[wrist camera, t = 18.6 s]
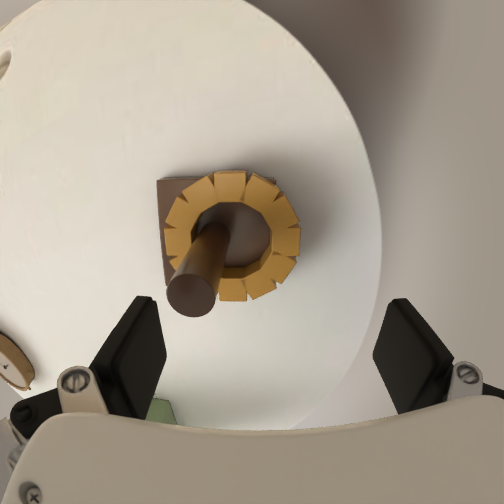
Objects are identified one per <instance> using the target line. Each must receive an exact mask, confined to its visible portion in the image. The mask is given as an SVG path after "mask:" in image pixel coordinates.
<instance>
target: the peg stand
mask: <svg viewBox="0 0 504 504" xmlns="http://www.w3.org/2000/svg"><path fill="white" fill-rule="evenodd" d="M201 178H203V177H186V178H162V179H159V180H157V199H158V215H159V228H160V239H161V249H162V259H163V267H164V276H165V283H166V286H167V290H166V295H167V299H168V301H169V303H170V305H171V306H172V307H173V309H174V310H176V311H177V312H178V313H180V314H182V315H184V316H188V317H200V316H203V315H205V314H207V313H208V312H210V311H211V309H212V308H213V306H214V304H215V300H216V296H217V292H218V288H219V284H220V279H221V275H222V271H223V267H225V268H244V267H246V266H247V265H249V264H251V263H253V262H255V261H257V260H259V259H260V258H261V257H262V255H263V253H264V252H265V250H266V249H267V247H268V246H269V244H270V228H269V226H268V224H267V222H266V221H265V219H264V217H263V216H262V214H261V213H260V212H258V211H257V210H255V209H253V208H251V207H250V206H248V205H246V204H244V203H242V202H219V203H217V204H215V205H214V206H212V207H210V208H209V209H207V210H205V211H204V212H203V213H202V215H201V217H200V219H199V220H198V222H197V224H196V227H197V237H196V239H195V240H194V242H193V244H192V245H191V247H190V248H189V250H188V252H187V253H186V255H185V257H184V258H183V260H182V262H181V263H180V265H179V267H178V268H177V270H175V269H174V268H173V266H172V265H171V263H170V262H169V261H170V260H171V258H172V257H173V256H168V255H167V252H166V243H165V233H164V228H165V227H166V226H167V225H168V223H166V219H167V217H168V215H169V212H170V210H171V208H172V206H173V204H174V202H175V200H176V198H177V197H178V196H179V195H181V194H182V191H183V190H184V189H186V188H187V187H189V186H190V185H192V184H194V183H195V182H197V181H198V180H200V179H201ZM249 178H250V177H247V181H248V179H249ZM263 178H264V179H266V180H268V181H270V182H271V183H273V184H275V185H276V179H275V178H268V177H263Z"/></svg>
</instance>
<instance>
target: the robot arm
mask: <svg viewBox="0 0 504 504" xmlns="http://www.w3.org/2000/svg"><path fill="white" fill-rule="evenodd" d="M166 357H167V353H166V348H165V343H164V338H163V333H162V329H161V323H160V318H159V313H158V307H157V303H156V301H153V300H152V298H151V297H148V296H137V297H136V298H135V299H134V300H133V302H132V303H131V305H130V306H129V308H128V309H127V310H126V312H125V313H124V315H123V316H122V318H121V319H120V321H119V322H118V324H117V325H116V327H115V328H114V329H113V330H112V332H111V333H110V335H109V336H108V338H107V339H106V341H105V342H104V344H103V345H102V347H101V349H100V350H99V352H98V353H97V355H96V356H95V358H94V360H93V361H92V363H91V364H90V366H89V368H87V367H84V366H74V367H70V368H68V369H66V370H65V371H63V372H62V373H61V374H60V376H59V377H58V380H57V388H55V389H53V390H50V391H47V392H44V393H41V394H38V395H36V396H33V397H30V398H27V399H24V400H21V401H19V402H17V403H16V404H15V405H14V407H13V408H12V410H11V413H10V419H9V420H8V419H7V418H6V417H5V418H4V419H2V420H1V421H0V504H504V390H501V389H498V388H496V387H493V386H490V385H488V384H485V383H483V376H482V373H481V371H480V370H479V368H478V367H477V366H475V365H474V364H472V363H470V362H466V361H461V362H458V363H456V364H455V365H453V364H452V362H453V360H454V357H453V355H452V354H451V353H450V351H449V350H448V349H447V348H446V346H445V345H444V344H443V342H442V341H441V340H440V338H439V337H438V336H437V335H436V333H435V332H434V331H433V330H432V328H431V327H430V326H429V325H428V323H427V322H426V321H425V320H424V318H423V317H422V316H421V315H420V314H419V312H418V311H417V310H416V309H415V308H414V307H413V305H412V304H411V303H410V302H409V301H408V300H407V299H406V298H400V299H393V300H392V302H390V303H389V304H388V307H387V310H386V314H385V317H384V320H383V323H382V327H381V330H380V333H379V336H378V339H377V342H376V345H375V348H374V351H373V360H374V362H375V364H376V366H377V368H378V370H379V373H380V375H381V377H382V379H383V381H384V383H385V386H386V388H387V390H388V392H389V394H390V397H391V399H392V401H393V403H394V405H395V408H396V410H397V413H398V415H394V416H390V417H386V418H380V419H375V420H371V421H365V422H359V423H352V424H345V425H338V426H330V427H321V428H310V429H295V430H266V431H252V430H223V429H208V428H197V427H188V426H180V425H172V424H165V423H158V422H152V421H146V420H145V419H146V416H147V413H148V410H149V407H150V404H151V401H152V398H153V395H154V392H155V390H156V387H157V384H158V381H159V378H160V375H161V373H162V370H163V367H164V364H165V362H166Z"/></svg>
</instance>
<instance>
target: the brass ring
mask: <svg viewBox="0 0 504 504" xmlns="http://www.w3.org/2000/svg"><path fill="white" fill-rule="evenodd" d="M279 191H280V190H279V188H278V186H276V185H275V184H273V183H271V182H270V181H268V180H266V179H264V178H263V177H261V176H259V175H257V174H256V173H254V172H253V173H252V174H251V176H250V178H249V179H248V181H247V171H246V170H227V171H217V172H215V173H214V176H213V174H212V173H210V174H208V175H206V176H205V177H203V178H201V179H200V180H198V181H197V182H195V183H194V184H192V185H190V186H189V187H187V188H186V189H184V190H183V191H182V194H181V195H179V196H178V197H177V198H176V200H175V202H174V204H173V206H172V208H171V210H170V212H169V215H168V217H167V219H166V223H168V225H167V226H166V227H165V228H164V233H165V243H166V252H167V255H168V256H173V257H172V258H171V260H170V261H169V262H170V263H171V265H172V266H173V268H174V269H175V270H177V268H178V267H179V265H180V263H181V262H182V260H183V258H184V257H185V255H186V253H187V252H188V250H189V248H190V247H191V245H192V244H193V242H194V240H195V239H196V237H197V227H196V224H197V222H198V220H199V219H200V217H201V215H202V213H203V212H204V211H205V210H207V209H209V208H210V207H212V206H214V205H215V204H217V203H219V202H242V203H244V204H246V205H248V206H250V207H251V208H253V209H255V210H257V211H258V212H260V213H261V214H262V216H263V217H264V219H265V221H266V222H267V224H268V226H269V228H270V244H269V246H268V247H267V249H266V250H265V252H264V253H263V255H262V257H261V258H260V259H259V260H257V261H255V262H253V263H251V264H249V265H247V266H246V267H244V268H225V267H223V271H222V275H221V279H220V284H219V288H218V292H219V299H220V301H247V292H248V294H249V295H250V297H251V298H252V300H254V299H256V298H258V297H260V296H262V295H264V294H266V293H268V292H270V291H272V290H274V289H276V288H277V287H276V282H278V283H280V284H282V283H283V281H284V280H285V278H286V277H287V276H288V274H289V273H290V271H291V270H292V268H293V267H294V265H295V264H296V263H297V261H296V259H295V256H299V250H300V234H301V228H300V226H299V225H298V222H299V220H298V218H297V216H296V214H295V212H294V210H293V208H292V207H291V205H290V203H289V201H288V199H287V197H286V196H285V194H284V193H283V191H281V192H279ZM218 292H217V294H218Z"/></svg>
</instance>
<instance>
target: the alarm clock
mask: <svg viewBox="0 0 504 504" xmlns="http://www.w3.org/2000/svg"><path fill="white" fill-rule="evenodd" d="M0 376H1V377H2V378H3V379H4V380H5V381H6V382H7V383H9V384H10V385H11V386H13V387H15V388H16V389H19V390H22V391H27V389H29V390H31V388H30V387H29V385H30V383H31V381H32V380H33V378H34V377H35V375H34V370H33V368H32V366H31V364H30V363H29V361H28V360H27V358H26V357H25V356H24V354H23V353H22V352H21V351H20V349H19V348H17V347H16V346H15V345H14V344H13V342H11V341H10V340H9V339H8V338H6V337H5V336H3V335H2V334H0Z"/></svg>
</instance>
